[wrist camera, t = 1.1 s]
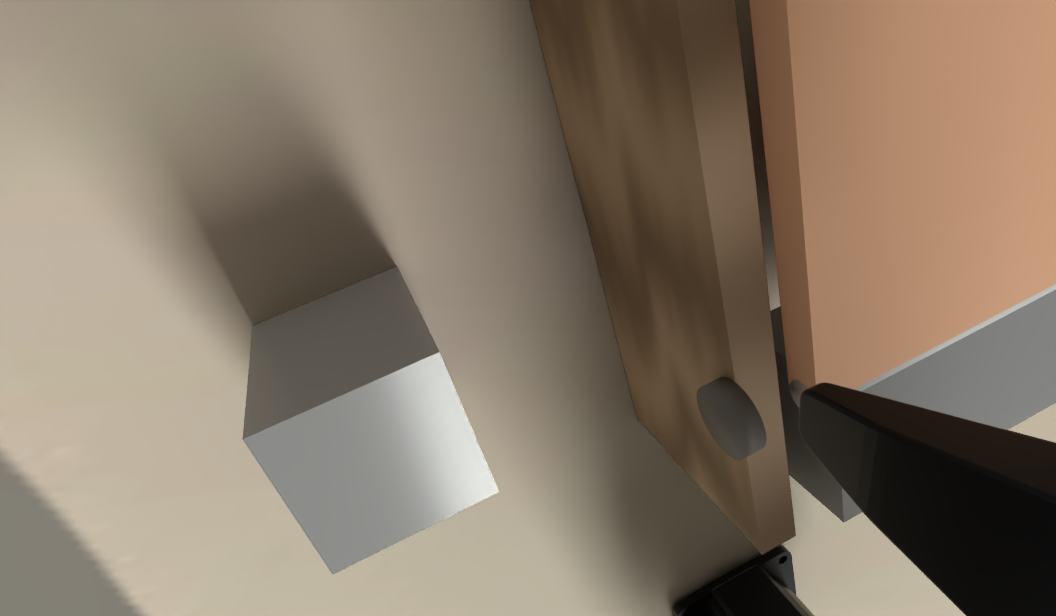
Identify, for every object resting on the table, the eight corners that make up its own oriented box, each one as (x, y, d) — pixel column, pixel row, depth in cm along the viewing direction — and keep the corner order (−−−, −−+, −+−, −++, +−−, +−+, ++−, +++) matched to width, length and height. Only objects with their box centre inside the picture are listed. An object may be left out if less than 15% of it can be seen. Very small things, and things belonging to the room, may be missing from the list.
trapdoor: (1039, 296, 24) (1183, 347, 20) (730, 457, 22) (828, 550, 18) (1100, -186, 17) (1343, -249, 13) (648, -26, 14) (782, -46, 11)
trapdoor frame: (981, 249, 28) (1228, 326, 21) (624, 425, 25) (767, 590, 18) (1016, -223, 20) (1438, -367, 13) (494, -52, 17) (658, -114, 10)
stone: (446, 380, 22) (499, 492, 16) (319, 438, 21) (332, 574, 16) (396, 266, 19) (439, 351, 14) (253, 325, 19) (242, 439, 13)
